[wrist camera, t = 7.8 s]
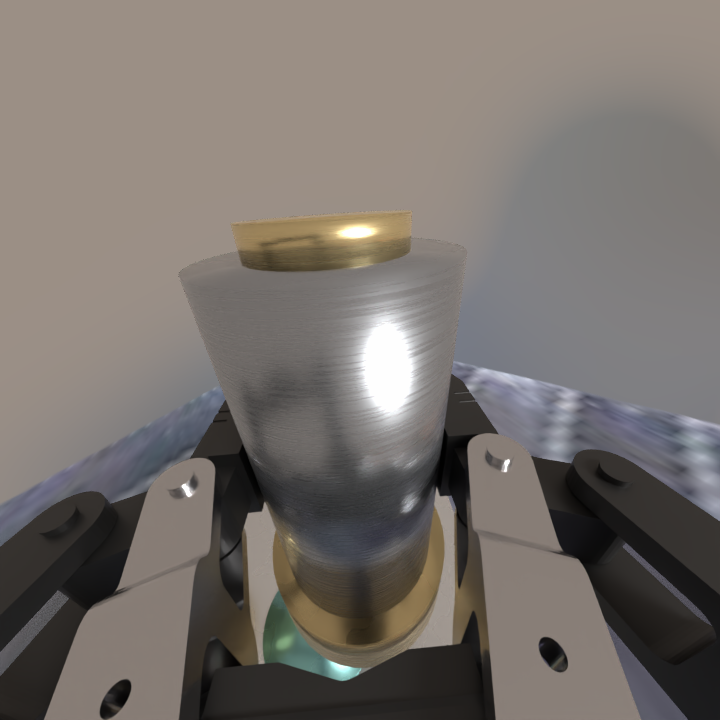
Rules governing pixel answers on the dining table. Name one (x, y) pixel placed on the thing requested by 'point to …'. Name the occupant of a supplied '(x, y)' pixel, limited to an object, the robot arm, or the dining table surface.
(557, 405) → the dining table surface
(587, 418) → the dining table surface
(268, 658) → the carrier
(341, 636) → the silver and brass cylinder
